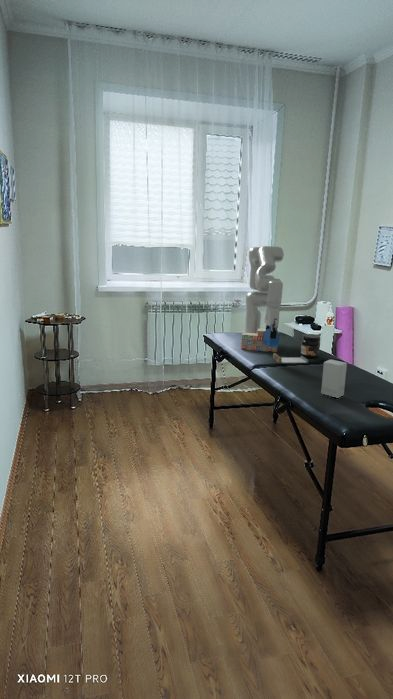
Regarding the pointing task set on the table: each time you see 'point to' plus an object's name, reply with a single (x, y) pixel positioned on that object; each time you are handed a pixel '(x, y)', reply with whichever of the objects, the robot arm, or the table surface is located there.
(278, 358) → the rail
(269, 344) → the perfume bottle
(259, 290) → the robot arm
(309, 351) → the supplement container
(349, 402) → the table surface
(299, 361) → the mat
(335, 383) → the skincare box
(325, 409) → the table surface
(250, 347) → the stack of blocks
